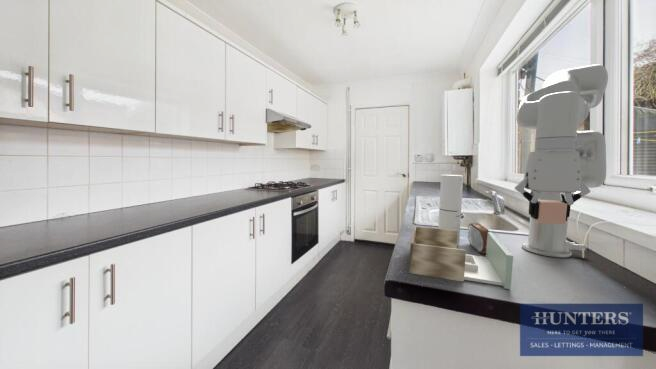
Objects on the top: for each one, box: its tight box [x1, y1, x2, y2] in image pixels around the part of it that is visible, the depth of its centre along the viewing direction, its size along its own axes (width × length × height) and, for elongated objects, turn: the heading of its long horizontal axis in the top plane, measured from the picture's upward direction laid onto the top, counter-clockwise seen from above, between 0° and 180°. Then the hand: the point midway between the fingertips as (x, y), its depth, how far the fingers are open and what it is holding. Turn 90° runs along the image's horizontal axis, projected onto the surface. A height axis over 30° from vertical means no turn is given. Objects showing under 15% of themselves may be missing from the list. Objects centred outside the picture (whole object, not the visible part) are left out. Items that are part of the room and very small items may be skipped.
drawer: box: [464, 231, 514, 290], centre depth 70 cm, size 13×21×8 cm, turn 158°
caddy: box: [409, 226, 467, 282], centre depth 74 cm, size 13×20×8 cm, turn 158°
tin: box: [467, 222, 490, 255], centre depth 86 cm, size 15×3×8 cm, turn 168°
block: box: [533, 200, 567, 224], centre depth 64 cm, size 5×5×5 cm
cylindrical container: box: [437, 174, 464, 247], centre depth 92 cm, size 7×7×25 cm
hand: (548, 218), depth 64 cm, fingers closed on block, 4 cm apart
